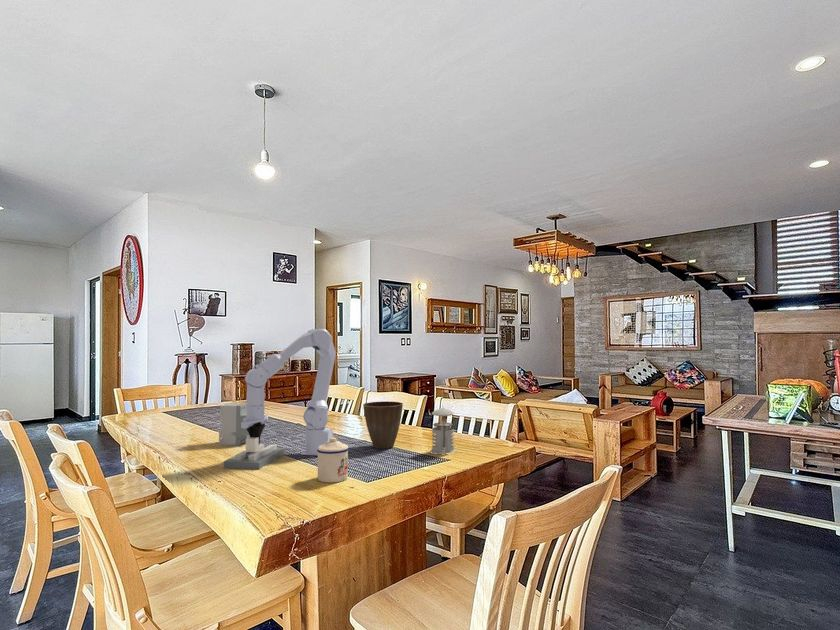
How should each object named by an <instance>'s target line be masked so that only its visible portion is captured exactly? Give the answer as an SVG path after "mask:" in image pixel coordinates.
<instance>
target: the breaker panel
mask: <svg viewBox="0 0 840 630" xmlns="http://www.w3.org/2000/svg"><path fill="white" fill-rule="evenodd" d="M287 449H288V448H287V447H278V444H270V445H268V446H265V443H260V444H259V447H258V451H256V452H255V453H253V454H251V455H249V456H248V457H247V453H249V452H246V449H245V450H243V451H241V452H239V453H237V454H235V455H234V456H233V457H230V458H228V459H226V460H223V469H244V470H246V469H247V470H249V469H250V470H260V469H262V468H263V466H264V467H266V466H267V465H269V464H271V463H272V461H273V462H274V461H276V460H278V459H279V457H280V458H281V457H283V456H285V455H286V453H287V452H288V451H287ZM284 454H285V455H284ZM287 454H288V453H287ZM277 458H278V459H277ZM265 465H266V466H265Z"/></svg>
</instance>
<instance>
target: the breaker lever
mask: <svg viewBox="0 0 840 630" xmlns="http://www.w3.org/2000/svg"><path fill="white" fill-rule="evenodd" d="M258 447H259V437H250V436H249V437H248V438H247V439H246V442H245V450H246V452H249V453H247V457H248V456H249V455H251V454H253V453H255V452H256V451H258Z"/></svg>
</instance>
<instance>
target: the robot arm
mask: <svg viewBox="0 0 840 630" xmlns="http://www.w3.org/2000/svg"><path fill="white" fill-rule="evenodd" d="M310 347H311V348H313V349H314V350H315V351H316V353H317V355H319V362H318V367H317V371H316V372H317V373H316V377H315V381H314V386H313V392H312V397H311V399H310V401H309V403H308V405H307V408H306V410H305V411H304V412H303V421H304V422H305V423H306V425H305V428H304V429H305V431H304V432H305V433H304V435H305V436H304V439H305V440H304V441H305V442H304V445H305V447H304V451H303V452H301V453H300V455H301V456H318V451H317V448H318V447H319V446H320V445H323V444H325V443H326V442H328V441H329V439H330V438H333V437H334V431H333V429H332V428H330V427H327V424H328V422H329V414H328V409H329V407H328V403H327V400H328V395H329V389H330V385H331V379H332V374H333V370H334V365H335V360H336V354H337V352H336V348H335V346H334V342H333V336H332V335H331V333H330V331H328V330H327V329H325V328H317V329H315V328H312V329H309V330H308V331H307V332H305V333H303V334H301V335H300V336H299V337H297V338H296V339H295V340H294V341H293V342H292V343H290V344H289V345H287V347H285V348H284V349H283V350H282V351H281V352H279V353H273V354H268V355H266V359H265V360H263V361H262V362H260V363H259V364H255V366H254V367H255V368H252V369H249V370H248V371H247V373H246V374H245V377H244V381H245V383H246V402H245V403H246V405H247V406H246V418H243V422H241V428H246V429H247V431H248V433H249V435H248V436H249V437H259V444H261V435H262V433H263V431H264V429H265V427H266V424H265V423H264V422H268V421H269V414H265V406H266V405H265V404H266V403H265V400H266V399H265V397H266V396H265V395H266V394H265V393H266V391H265V385H266V383H267V382H268V379H270V378H271V377H273V376H274V375H275V374H277V373H278V372H279V371H280V370H282V369H283V368H284V367H285V363H286V361H287V360H289V359H290V358H291V357H293V356H294V355H296V354H297V353H299V352H300V351H302V350H303V349H305V348H310Z"/></svg>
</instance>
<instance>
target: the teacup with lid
mask: <svg viewBox="0 0 840 630" xmlns="http://www.w3.org/2000/svg"><path fill="white" fill-rule="evenodd" d="M349 450H350V448H349V446H348V444H346V443H343V442H341V441H339V440H337V437H334V436H333V438H330V439H329V441H328V442H326V443H325V444H323V445H320V446H319V447H318V448H317V451H318V455H317V480H318V481H319V482H321V483H327V484H329V483H330V484H331V483H334V482H335V483H339V482H340V483H341V482H344V481H345V479H346V480H348V477H349V476H348V475H349V474H348V473H349V472H348V471H349V469H348V468H349V460H348V459H349ZM343 480H344V481H343Z"/></svg>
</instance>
